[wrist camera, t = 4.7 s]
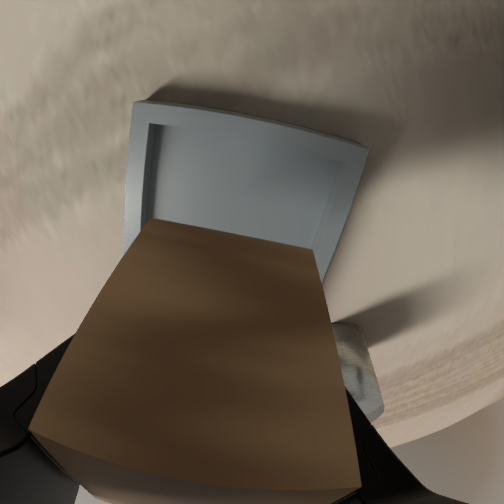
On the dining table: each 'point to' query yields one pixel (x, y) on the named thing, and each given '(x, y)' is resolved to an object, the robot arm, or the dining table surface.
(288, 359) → the walnut block
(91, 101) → the dining table surface
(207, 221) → the tray
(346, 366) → the steel cylinder
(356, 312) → the dining table surface
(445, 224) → the dining table surface
